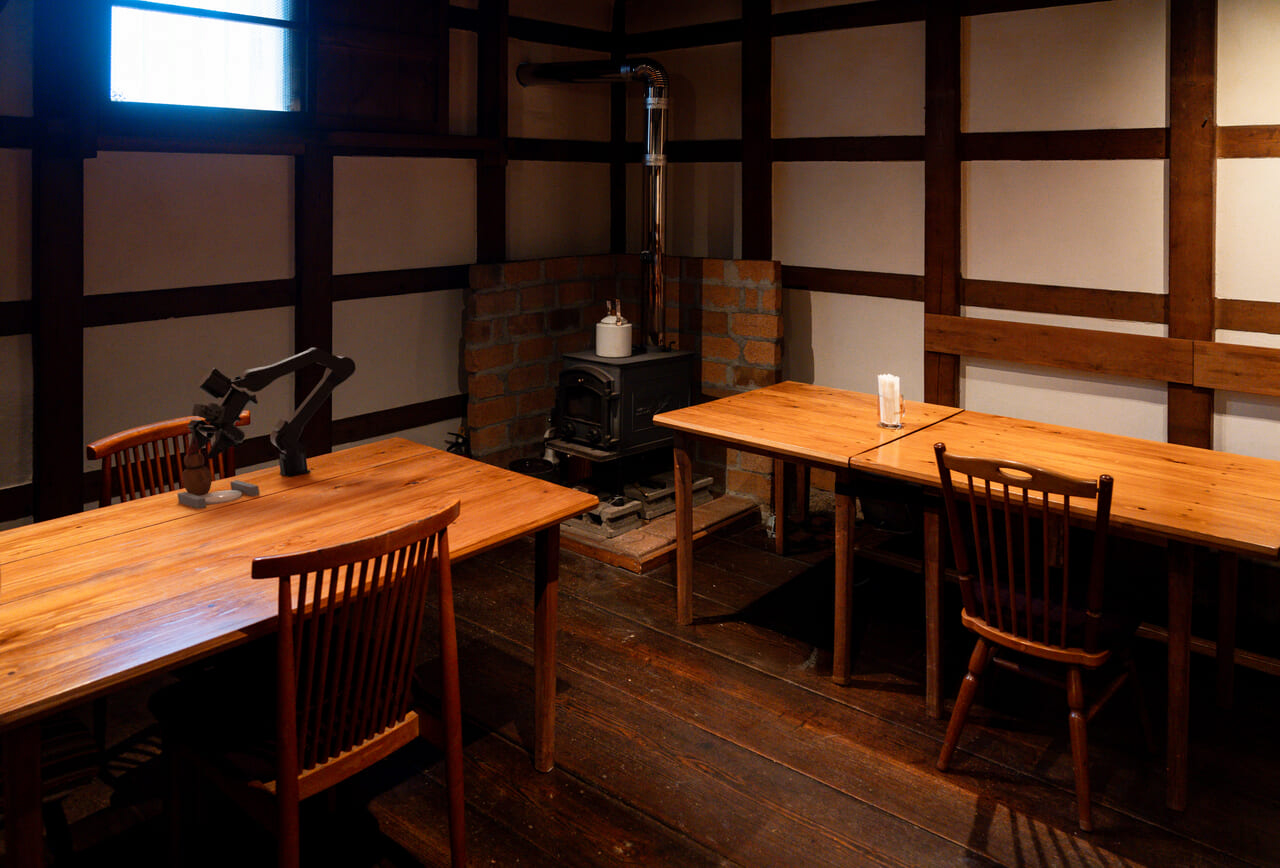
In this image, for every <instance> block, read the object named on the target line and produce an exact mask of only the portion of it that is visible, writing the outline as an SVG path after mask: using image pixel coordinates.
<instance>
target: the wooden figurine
mask: <svg viewBox="0 0 1280 868" xmlns="http://www.w3.org/2000/svg"><path fill="white" fill-rule="evenodd" d="M188 447H189V448H187V452H186V453H187V454H186V455H185V456H184V457H183V463H184V466H185V467H186V468H185V469H184V471H182V483H183V485H184V488H185V490H186V491H185V492H188V493H191V494H194V495H197V496H201V495H204V494H207V493H210V490H211V487H212V475H211V471H210V470H209V468H208V467H207V466H205V465H204V464H205V456H204V455H203V454H202V453H201V452H200V450H199V447H198V442H197V438H195V446H194V443H193V441H192V447H191V446H190V445H189V446H188Z"/></svg>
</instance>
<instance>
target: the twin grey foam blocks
mask: <svg viewBox="0 0 1280 868" xmlns="http://www.w3.org/2000/svg"><path fill="white" fill-rule="evenodd" d="M230 490H238V491H241V492H242V495H246V496H250V497H255V496H259V495H260V489H259V485H256V484H253V483H250V482H247V481H246V482H245V481H242V480H239V479H238V480H232V481H230ZM176 494H177V499H178V500H177V501H178V503H180V504H182V505H186V506H188V507H190V508H194V509H196V510H201V509H204V508H207V504H206V501H205V498H203V497H200V496H201V495H200V496H197V495H194V494H191V493H188V492H187V491H183V492H179V493H176Z"/></svg>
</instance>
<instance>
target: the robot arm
mask: <svg viewBox="0 0 1280 868" xmlns="http://www.w3.org/2000/svg"><path fill="white" fill-rule="evenodd" d="M315 363H316V364H319V365H322V366H324V367H326V369H325V371H324V373H323V376H322V379H321V380H320V381H319V382H318V383H317V385H316V386H315V387H314V388H313V389H312V391H311V392H310V393H309V394H308V395H307V397H305V399H304V400H303V402H302V403H301V404H300V406H299V407H298V408H297V409H295V411H294V412H293V414H292V415H291V416H289V417H288V418H287V419H284V418H282V417H280V418H279V419H278V421H277V423H276V424H275V426H273V427H271V430H272V431H271V433H270V435H269V436H270V442H271V443H272V444H273V446H275V447H276V448H278V449H279V450H280V452H281V453H279V459H278V464H279V470H280V471H279V475H282V476H287V477H295V476H299V475H304V474H307V473H311V469H308V462H307V454H306V447H307V446H306V445H305V444H304V443H302V442H301V441H299V439H300V437H301V436H302V432H303V430H304V428H305V427H304V426H305V425H306V424H307V423H308V422H309V421H310V419H311V418H312V417H313V415H314V414H315V413H316V412H317V410H318V409H319V408H320V407H321V406H322V404H323V403H324V402H325V401H326V400H327V398H328V397H329V396H330V395H331V393H332V392H333V391H334V390H335V388H337V387H338V386H340V385H342V383H344V382H346V381H347V380H348V379H349V378H351V377H352V376H353V374H355V372H356V363H355V361H354V360H353V359H352V357H351V358H350V357H347V356H342V355H334V354H331V353H329V352H326V351H323V350H322V349H320V348H317V347H310V348H308V349H307V350H305V351H303V352H300V353H298V354H295V355H293V356H290V357H288V358H284V359H283V360H280V361H278V362H274V363H272V364H268V365H266V366H260V367H254V368H250V369H246V370H244V371H242V373H240V375H237V376H233V377H231V378H229V377H227V376H226V375H224V374H223V373H222V372H221V371H220V370H218V369H217V368H215V367H212V368H211V370H210V371H208V372H207V373H206V375H204V376H203V377H202V378H201V380H200V381H199V382H198V383H197V388H198V389H199V390H200V391H202V392H204V393H205V394H207V395H209V396H210V397H211V398H213V399H214V400H218V399H219V398H220V399H223V398H224V399H223V401H222V402H221V403H220V404H217V403H213V402H210V403H209V404H208V405H206V404H201V403H194V406H193V409H192V412H191V416H193V417H199V418H202V419H197V418H195V419H191V420H190V422H188V424H187V428H188V429H189V431H190V432H191V440H190V445H189V446H191V447H192V441H193V443H194V446H195V438H197V442H198V447H199V451H200V450H201V449H202V448H203V447H205V446H206V445H207V444H208V443H210V442H211V439H212V438H213V437H214V436H215V440H214V442H213V444H212V446H211V448H210V450H209V452H208V454H207V456H206V458H207V459H209V460H212V459H214V458H215V457H217V456H218V455H220V454H221V453H224V452H225V451H227V450H228V449H230V448H232V447H233V446H235V445H236V446H237V445H238V443H243V441H244V440H245V438H246V435H245V432H244V431H243V430H242V429H240V428H239V427H238V426H237V425H236V422H239V423H240V422H241V420H242V417H241V415H242V413H243V412H244V411H245V409H246V407H247V406H248V404H249V405H251V406H255V405H257V404H258V403H259V402H258V399H257V395H256V394H250V393H248V392H247V391H249V392H251V393H256V392H260V391H262V390H263V389H265V388H267V387H268V386H269V385H271V384H272V383H273V382H274V381H275V380H278V379H279V378H281V377H284V376H286V375H289V374H292V373H293V372H296V371H299V370H300V369H303V368H306V367H309V366H310V365H313V364H315ZM239 388H240V389H241V390H240V389H239ZM243 389H245V390H247V391H245V390H243ZM203 419H204V420H203Z"/></svg>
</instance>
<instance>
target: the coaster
mask: <svg viewBox="0 0 1280 868" xmlns="http://www.w3.org/2000/svg"><path fill="white" fill-rule="evenodd" d="M242 496H243V494H242V492H241V491H238V490H231V489H229V490H228V489H227V490H226V489H225V490H219V491H212V492H208V493H206V494H204V495H200V497H203V498H205V501H206V505H215V504H216V505H217V504H223V503H228V502H233V501H235V500H238V499H240V498H241V497H242Z"/></svg>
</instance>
